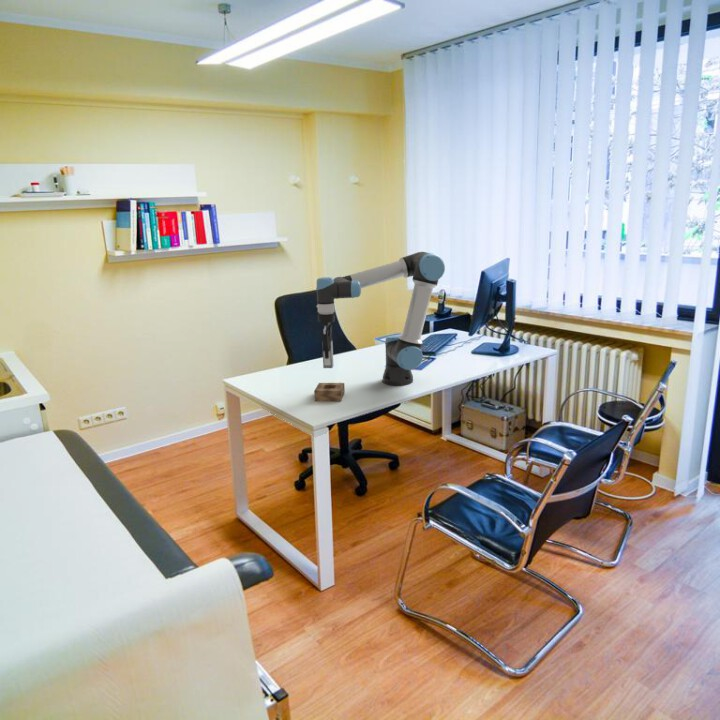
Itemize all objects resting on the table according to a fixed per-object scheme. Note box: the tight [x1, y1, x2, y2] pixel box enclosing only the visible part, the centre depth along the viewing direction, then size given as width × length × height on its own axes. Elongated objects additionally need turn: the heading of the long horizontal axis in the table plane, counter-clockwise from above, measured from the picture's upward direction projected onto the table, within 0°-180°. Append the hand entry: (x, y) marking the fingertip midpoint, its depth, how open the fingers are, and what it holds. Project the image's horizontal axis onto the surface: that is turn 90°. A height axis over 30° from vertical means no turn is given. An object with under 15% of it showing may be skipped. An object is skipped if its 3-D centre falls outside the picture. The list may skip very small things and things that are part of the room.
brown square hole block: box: [313, 382, 345, 402], centre depth 269 cm, size 12×12×5 cm
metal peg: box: [321, 339, 334, 369], centre depth 264 cm, size 4×4×12 cm
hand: (328, 363), depth 265 cm, fingers closed on metal peg, 4 cm apart
